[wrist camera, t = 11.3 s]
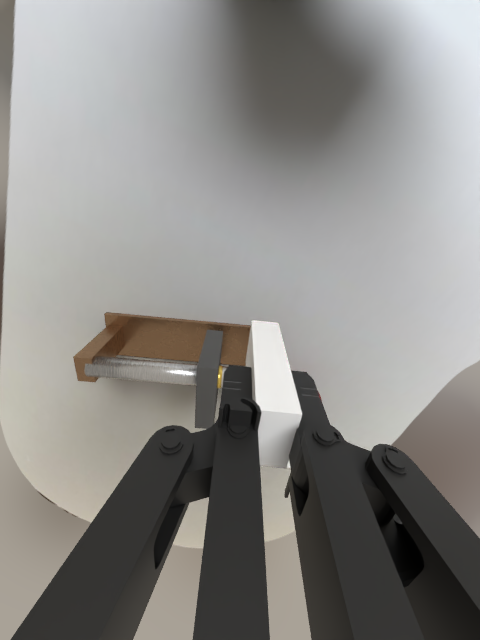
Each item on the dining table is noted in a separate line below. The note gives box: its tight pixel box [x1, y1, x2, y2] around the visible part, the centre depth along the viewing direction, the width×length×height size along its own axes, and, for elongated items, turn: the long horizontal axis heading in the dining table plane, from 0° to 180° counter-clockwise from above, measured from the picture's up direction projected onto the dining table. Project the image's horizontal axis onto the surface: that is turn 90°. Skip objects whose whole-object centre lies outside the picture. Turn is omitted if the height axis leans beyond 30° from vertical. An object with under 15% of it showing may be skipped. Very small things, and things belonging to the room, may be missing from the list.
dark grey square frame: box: [195, 330, 223, 429], centre depth 37 cm, size 2×10×10 cm, turn 174°
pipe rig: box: [73, 312, 251, 388], centre depth 41 cm, size 29×8×12 cm, turn 84°
